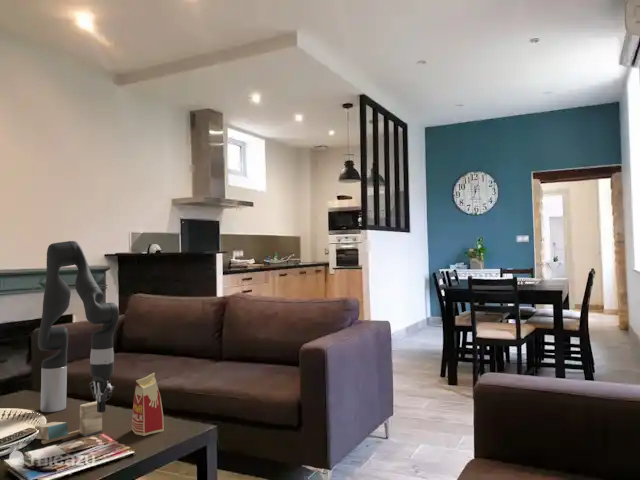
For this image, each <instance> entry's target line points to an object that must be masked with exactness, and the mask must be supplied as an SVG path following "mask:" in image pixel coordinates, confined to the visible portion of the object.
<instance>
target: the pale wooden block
mask: <svg viewBox="0 0 640 480" xmlns="http://www.w3.org/2000/svg"><path fill="white" fill-rule="evenodd" d="M78 430H79V434H78V435H80V436H83V437H89V436H93V435H96V434H99V433H102V432H103V412H102V413H99V412H97V401H96V400H95V401H92V402H87V403H84V404H80V405H79V429H78Z"/></svg>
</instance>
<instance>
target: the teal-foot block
mask: <svg viewBox="0 0 640 480" xmlns="http://www.w3.org/2000/svg"><path fill="white" fill-rule="evenodd" d="M35 429H37V430H39V433H38V434H37V436H35V439H37V440H44V439H46V440H51V439H54V438H58V437H62V436H65V435H68V433H69V431H68V422H65V421H64V422H62V421H60V422H59V421H51V422H47V423H43V424H39V425H36V426H34V430H35Z"/></svg>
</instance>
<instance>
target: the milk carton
mask: <svg viewBox="0 0 640 480" xmlns="http://www.w3.org/2000/svg"><path fill="white" fill-rule="evenodd" d="M155 373H156V372H153V373H150V374H149V375H147V376H146V377H143V378H140V379H136V380H135V382H136V385H135V389H134V390H135V391H134V397H133V406H132V413H131V430H132V432H133V433H134V434H135V435H138V436H144V437H145V436H149V435H151V434H156V433H162V432H164V431H165V430H164V429H165V426H164V412H163V405H162V397H161V393H160V391H159V387H158V386H159V385H158V383H157V380H156V377H155Z"/></svg>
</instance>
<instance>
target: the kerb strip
mask: <svg viewBox="0 0 640 480" xmlns="http://www.w3.org/2000/svg"><path fill="white" fill-rule="evenodd" d="M77 435H80V434H79V429H77V430H74V431H70V432H69V431H68V435H65V436H62V437H58V438H54V439H51V440H46V439H40V440H41V442H40V443H41V444H42V445H45V444H49V443H52V442H57V441H59V440H64V439H66V438H71V437H74V436H77Z"/></svg>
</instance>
